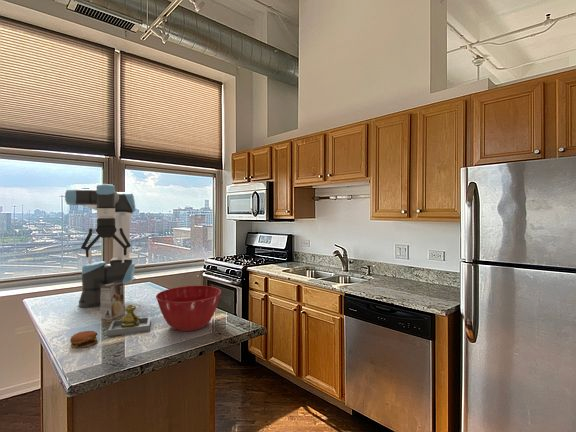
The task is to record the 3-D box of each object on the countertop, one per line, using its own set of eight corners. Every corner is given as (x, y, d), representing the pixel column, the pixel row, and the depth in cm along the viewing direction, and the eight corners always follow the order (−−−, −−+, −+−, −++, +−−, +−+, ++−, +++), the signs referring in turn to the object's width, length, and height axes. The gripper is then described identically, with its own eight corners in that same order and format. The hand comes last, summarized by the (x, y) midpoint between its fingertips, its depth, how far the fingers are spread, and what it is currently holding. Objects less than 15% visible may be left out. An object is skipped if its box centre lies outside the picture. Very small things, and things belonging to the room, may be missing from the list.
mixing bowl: (203, 340, 136) (202, 302, 136) (142, 334, 143) (141, 298, 143) (230, 318, 164) (230, 287, 164) (178, 314, 170) (178, 284, 170)
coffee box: (113, 313, 173) (113, 282, 172) (124, 314, 171) (124, 282, 171) (100, 319, 164) (99, 286, 163) (111, 319, 162) (111, 286, 162)
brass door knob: (135, 330, 147) (135, 307, 147) (118, 330, 146) (118, 307, 146) (141, 324, 154) (141, 302, 154) (125, 324, 154) (124, 303, 154)
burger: (70, 342, 135) (69, 331, 135) (96, 338, 140) (96, 326, 140) (70, 351, 127) (70, 339, 126) (98, 346, 132) (98, 334, 132)
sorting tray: (112, 326, 154) (112, 320, 154) (150, 321, 159) (150, 316, 159) (108, 336, 142) (108, 330, 141) (149, 331, 147) (149, 325, 147)
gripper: (72, 218, 148) (73, 266, 148) (135, 217, 157) (135, 262, 157) (76, 217, 155) (77, 263, 155) (136, 217, 164) (136, 260, 164)
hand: (106, 263), depth 156 cm, fingers open, 13 cm apart
